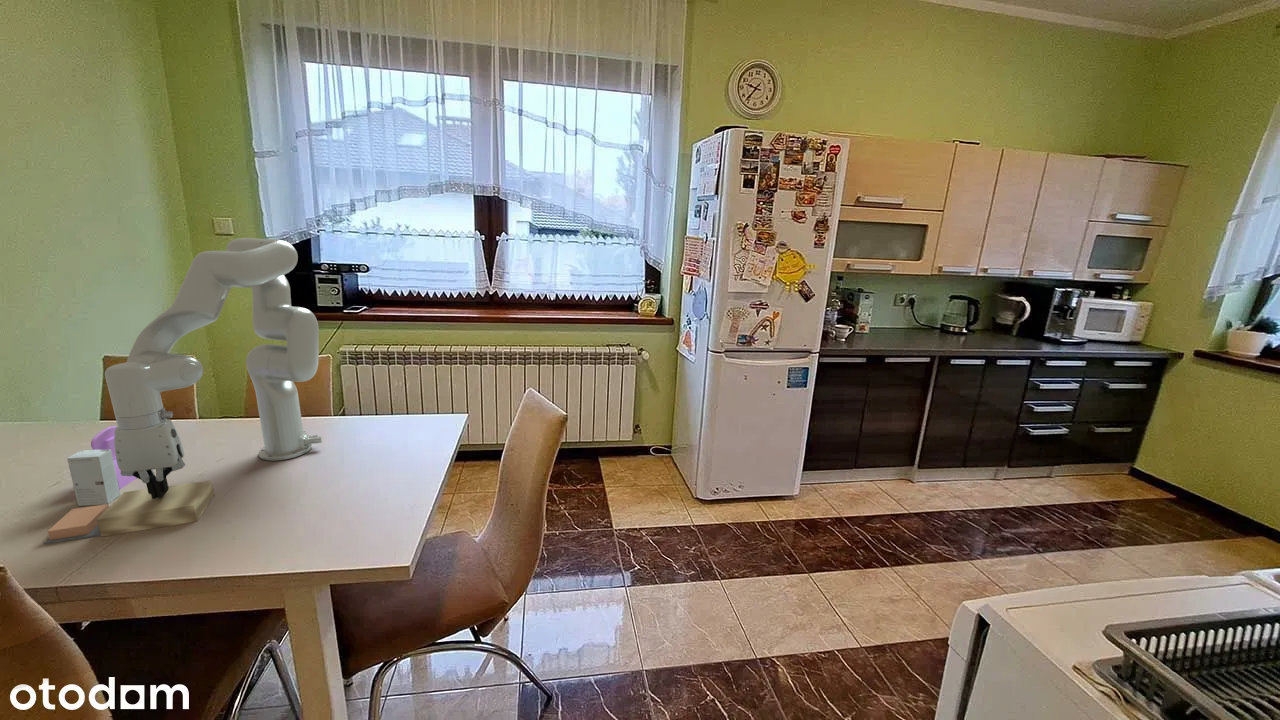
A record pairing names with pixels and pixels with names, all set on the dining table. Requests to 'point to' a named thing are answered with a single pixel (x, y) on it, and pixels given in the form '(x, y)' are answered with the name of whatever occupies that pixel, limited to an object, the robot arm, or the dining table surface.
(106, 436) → the purple flanged fixture
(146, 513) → the board
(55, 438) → the dining table surface
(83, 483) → the skincare box
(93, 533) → the mat
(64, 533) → the tile
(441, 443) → the dining table surface
